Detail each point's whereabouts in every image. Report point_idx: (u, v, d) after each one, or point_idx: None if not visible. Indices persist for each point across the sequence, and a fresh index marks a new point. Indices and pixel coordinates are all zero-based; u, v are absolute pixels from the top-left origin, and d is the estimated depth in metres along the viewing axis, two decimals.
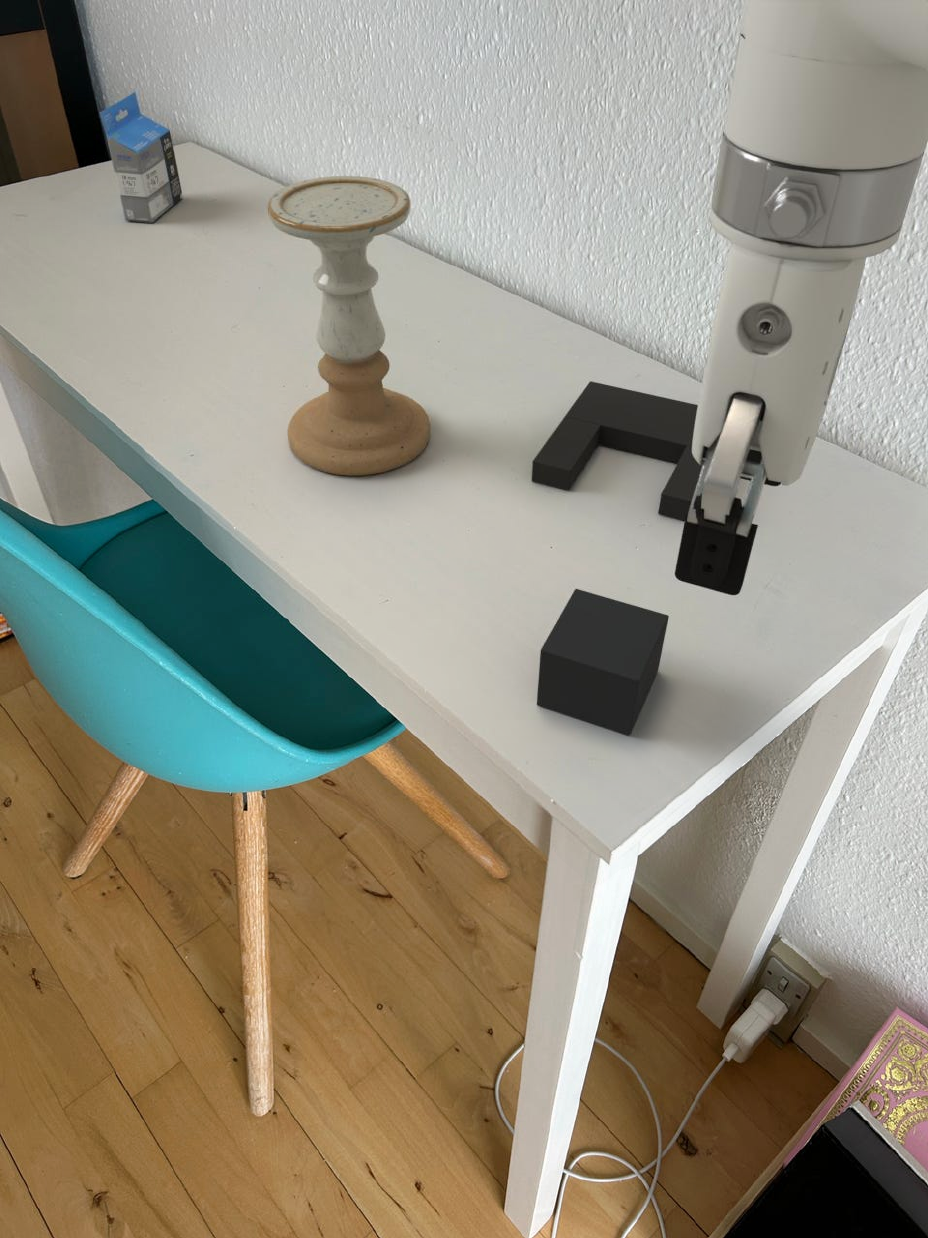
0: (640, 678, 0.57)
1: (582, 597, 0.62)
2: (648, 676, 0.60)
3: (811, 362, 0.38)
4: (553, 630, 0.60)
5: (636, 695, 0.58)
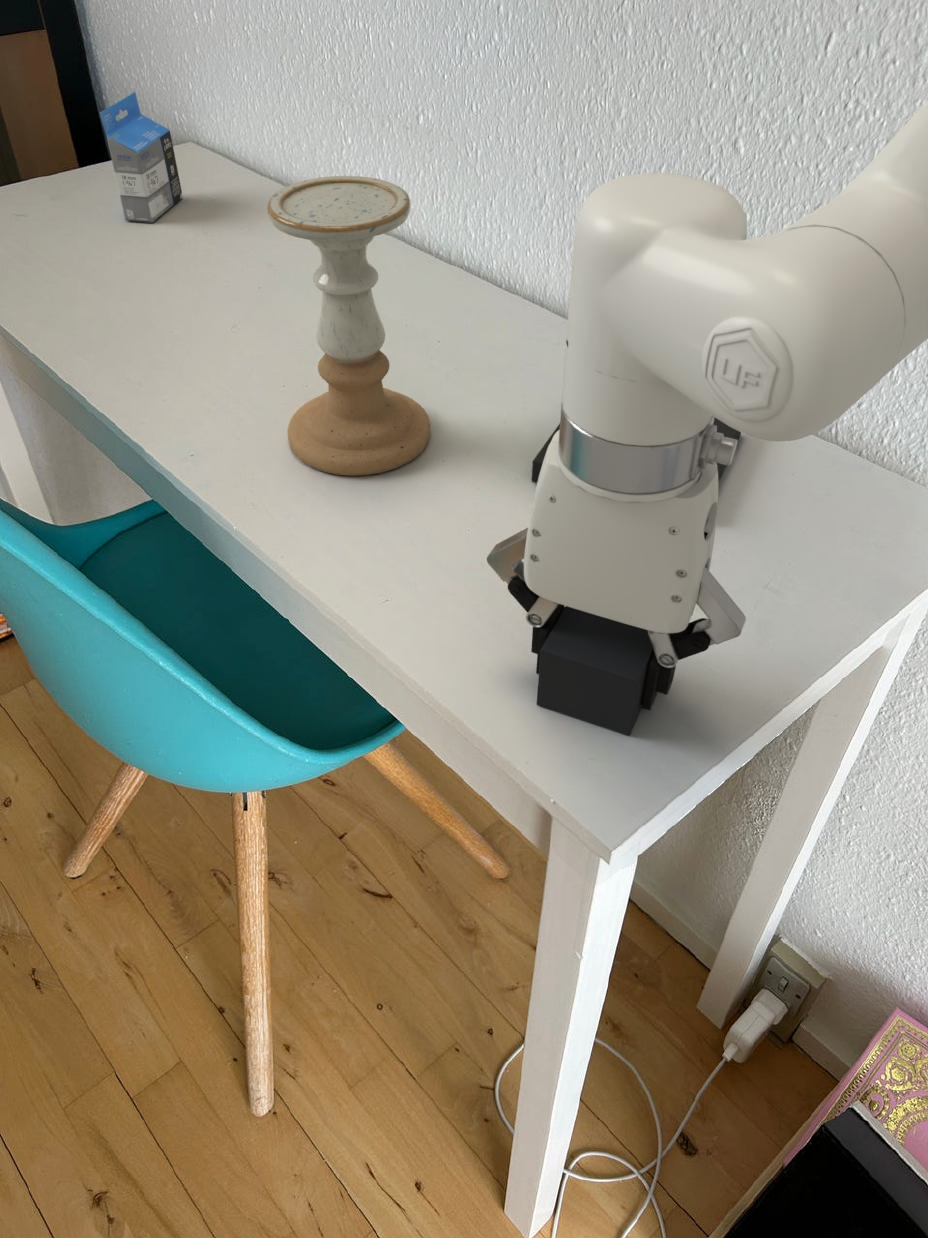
0: (640, 678, 0.57)
1: None
2: None
3: None
4: (553, 630, 0.60)
5: (636, 695, 0.58)
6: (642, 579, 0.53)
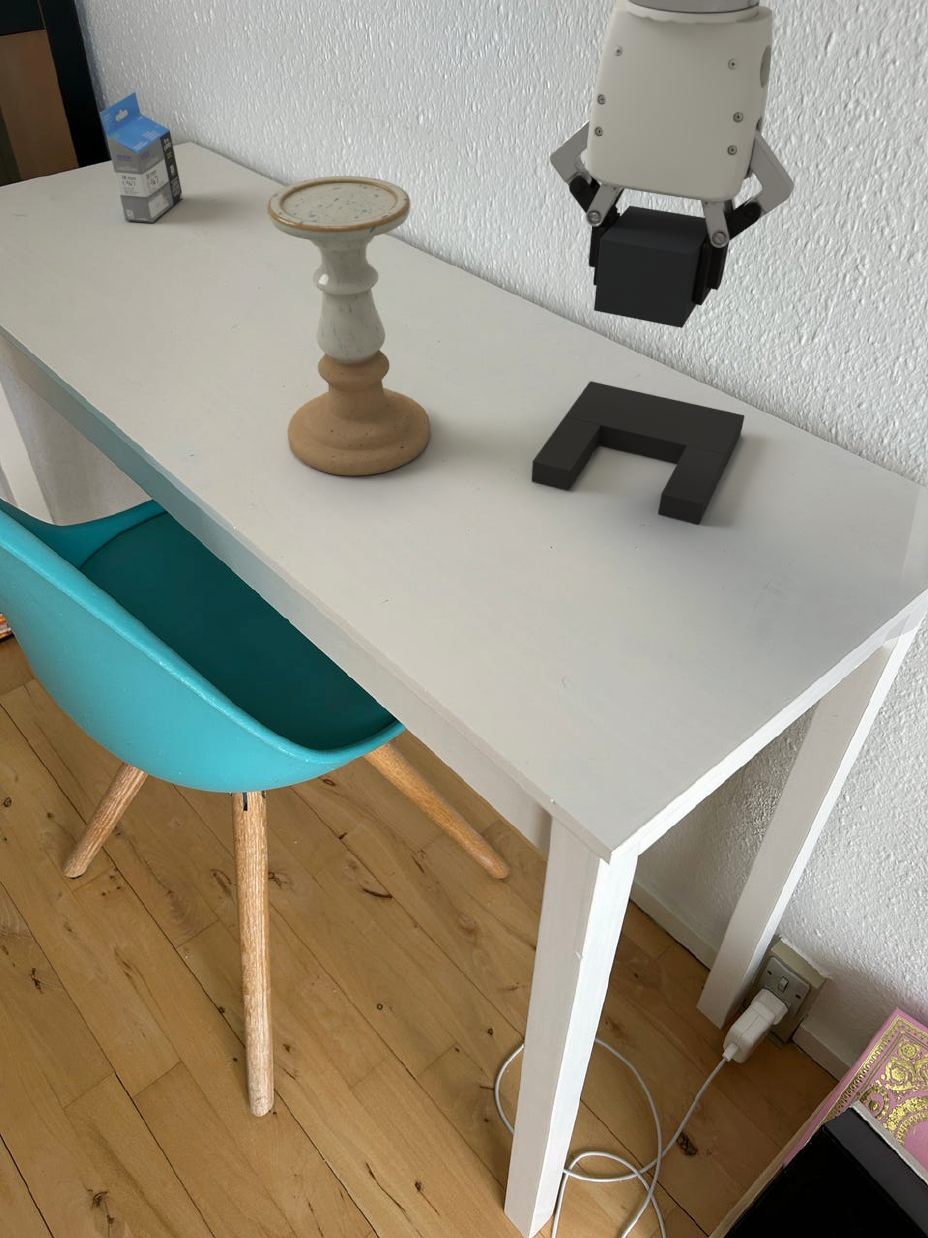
0: (695, 252, 0.61)
1: (636, 210, 0.67)
2: None
3: None
4: (611, 227, 0.64)
5: (690, 273, 0.62)
6: (701, 130, 0.57)
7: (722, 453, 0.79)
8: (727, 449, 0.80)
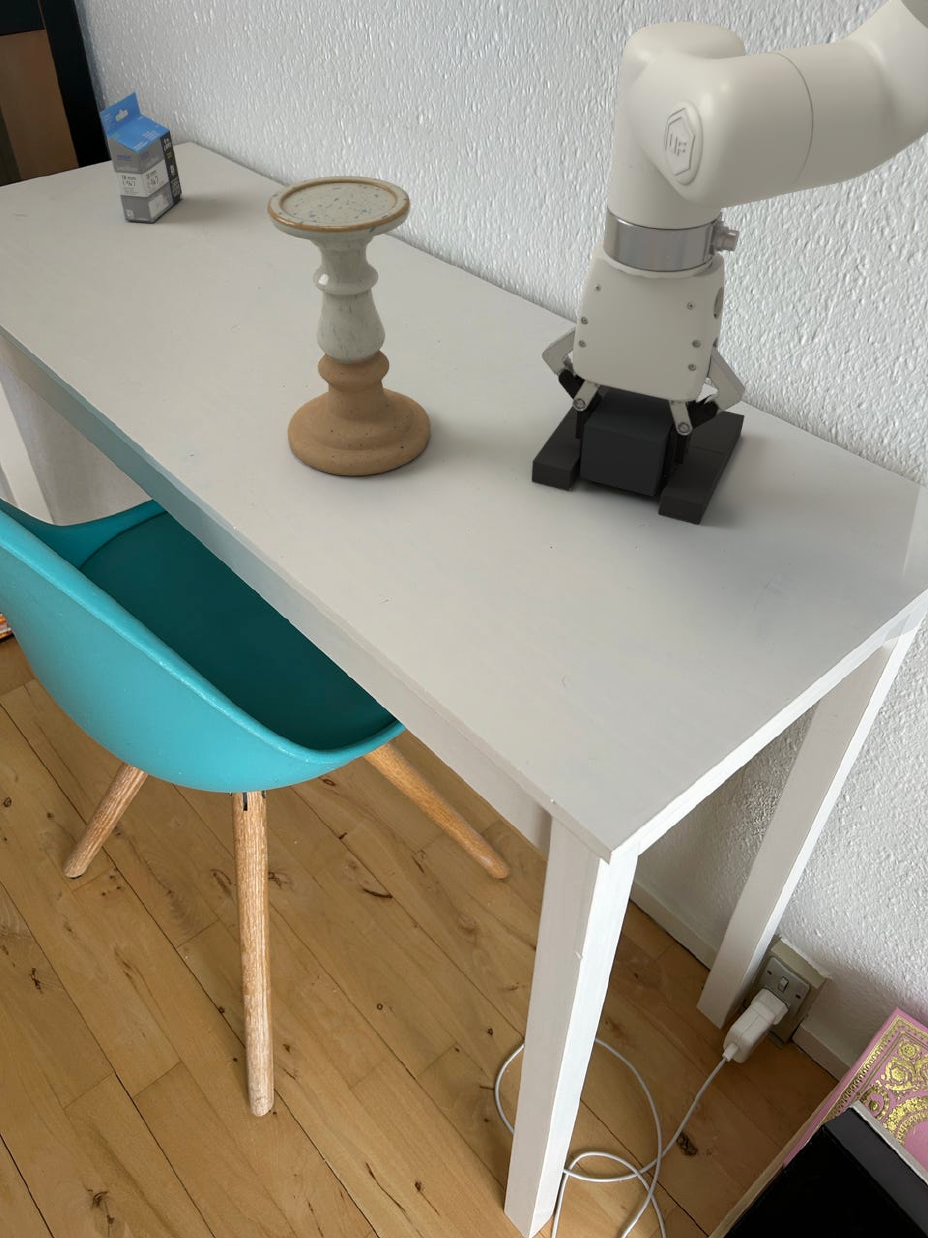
0: (663, 441, 0.73)
1: (615, 392, 0.78)
2: None
3: None
4: (594, 412, 0.76)
5: (659, 456, 0.74)
6: (666, 351, 0.69)
7: (722, 453, 0.79)
8: (727, 449, 0.80)
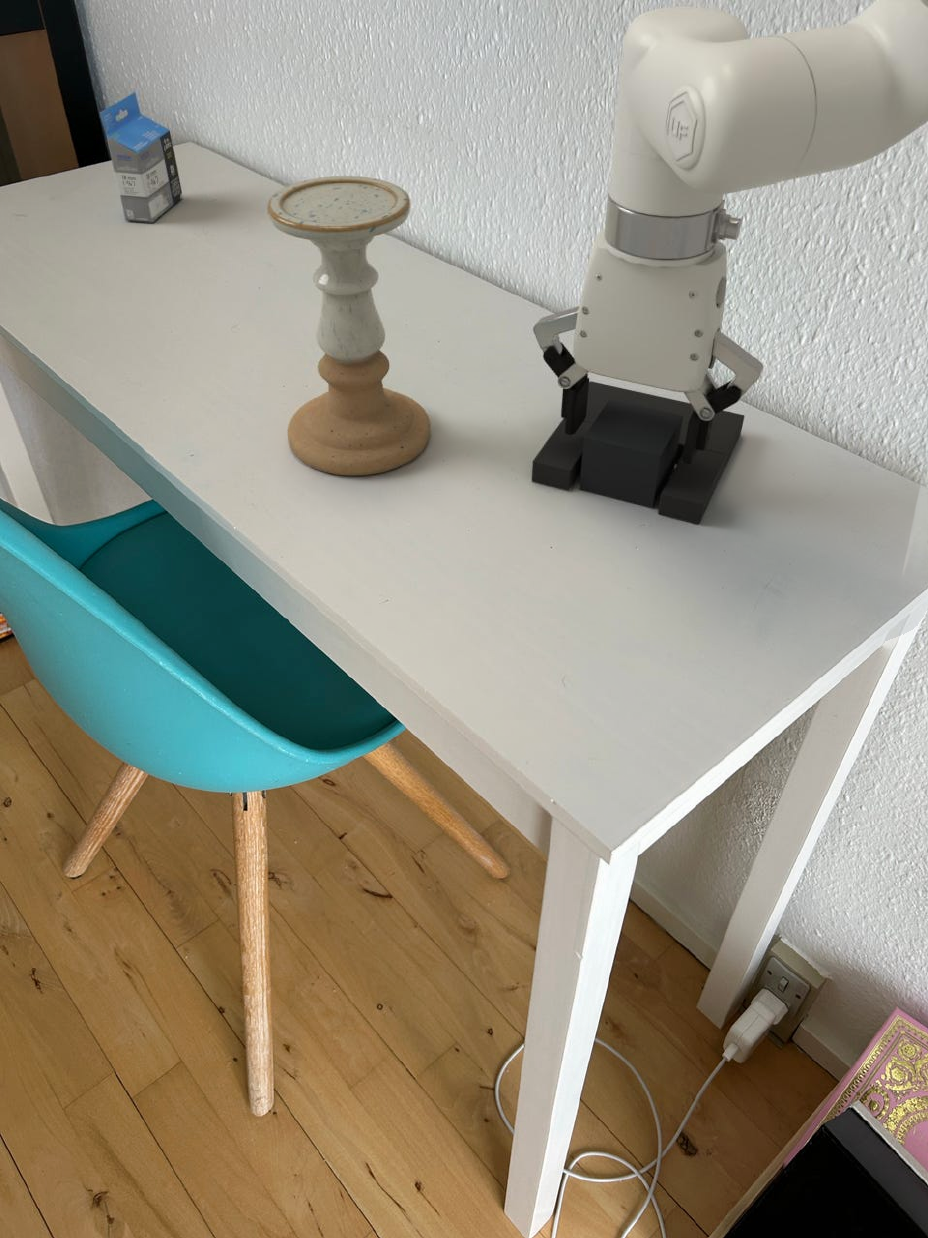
0: (662, 453, 0.74)
1: (615, 404, 0.79)
2: (667, 461, 0.77)
3: (725, 293, 0.69)
4: (593, 424, 0.77)
5: (658, 469, 0.75)
6: (668, 341, 0.69)
7: (722, 453, 0.79)
8: (727, 449, 0.80)
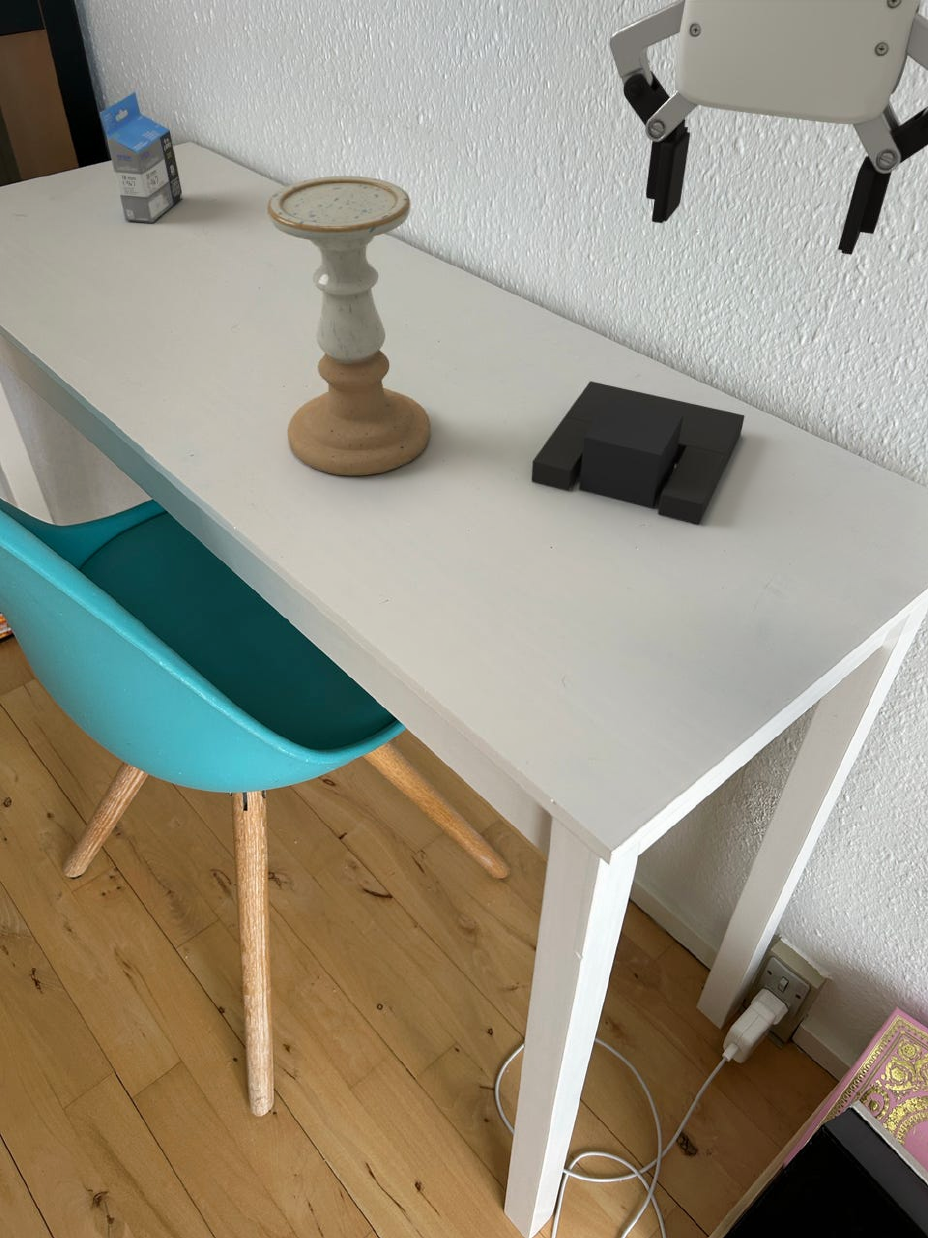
0: (662, 453, 0.74)
1: (615, 404, 0.79)
2: (667, 461, 0.77)
3: None
4: (593, 424, 0.77)
5: (658, 469, 0.75)
6: (840, 22, 0.42)
7: (722, 453, 0.79)
8: (727, 449, 0.80)
